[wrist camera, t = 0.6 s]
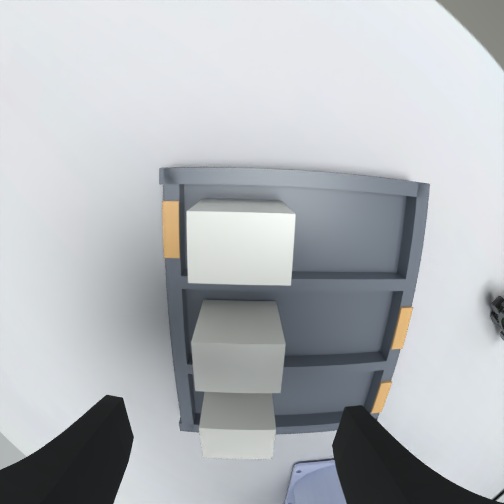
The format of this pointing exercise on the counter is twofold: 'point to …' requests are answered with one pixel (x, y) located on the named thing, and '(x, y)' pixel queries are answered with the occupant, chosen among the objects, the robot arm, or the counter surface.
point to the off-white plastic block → (240, 242)
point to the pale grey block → (237, 425)
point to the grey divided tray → (309, 285)
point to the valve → (498, 314)
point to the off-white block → (238, 347)
